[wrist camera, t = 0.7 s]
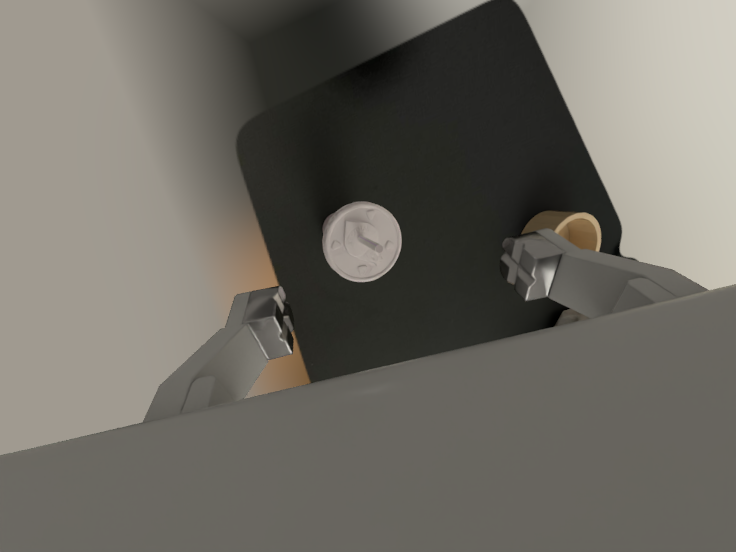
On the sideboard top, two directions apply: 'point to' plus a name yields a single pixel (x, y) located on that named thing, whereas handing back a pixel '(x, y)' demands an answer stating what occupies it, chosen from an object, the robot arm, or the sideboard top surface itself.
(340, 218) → the smoothie
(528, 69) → the sideboard top surface
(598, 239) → the tan hollow round container
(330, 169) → the sideboard top surface
